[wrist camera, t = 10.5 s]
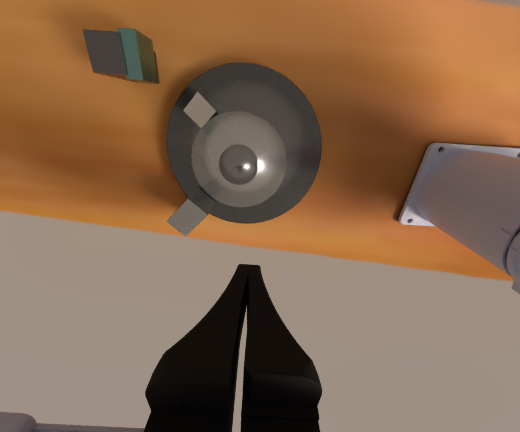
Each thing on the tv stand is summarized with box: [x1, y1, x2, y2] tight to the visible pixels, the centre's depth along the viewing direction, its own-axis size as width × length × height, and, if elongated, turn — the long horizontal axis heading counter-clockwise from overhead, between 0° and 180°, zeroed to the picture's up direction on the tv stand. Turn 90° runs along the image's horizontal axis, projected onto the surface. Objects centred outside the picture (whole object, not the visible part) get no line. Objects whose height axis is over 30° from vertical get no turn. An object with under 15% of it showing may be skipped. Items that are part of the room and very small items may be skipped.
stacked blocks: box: [83, 28, 159, 84], centre depth 14 cm, size 3×2×4 cm
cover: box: [192, 111, 287, 207], centre depth 16 cm, size 7×7×3 cm
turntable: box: [166, 63, 322, 236], centre depth 17 cm, size 13×14×4 cm
